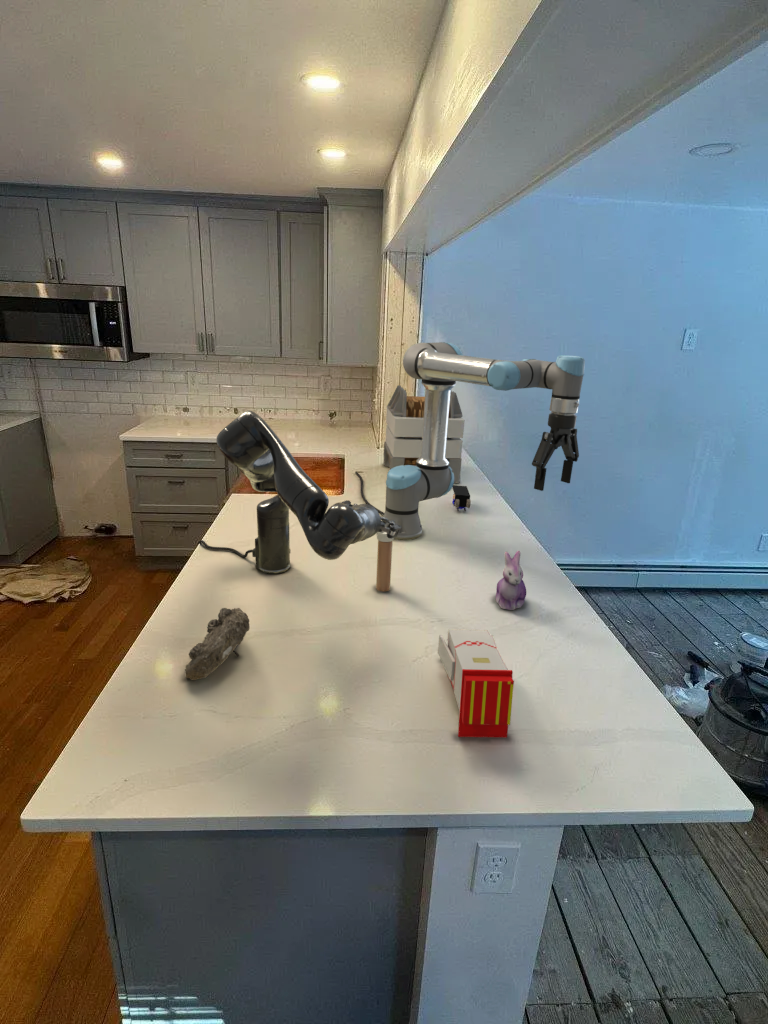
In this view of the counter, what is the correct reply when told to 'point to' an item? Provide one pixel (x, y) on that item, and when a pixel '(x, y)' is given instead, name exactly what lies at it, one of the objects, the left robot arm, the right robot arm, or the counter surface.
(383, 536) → the lid
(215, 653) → the fossil
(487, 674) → the toy
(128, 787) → the counter surface
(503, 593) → the figurine
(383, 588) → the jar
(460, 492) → the figurine character
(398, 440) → the white slatted crate
